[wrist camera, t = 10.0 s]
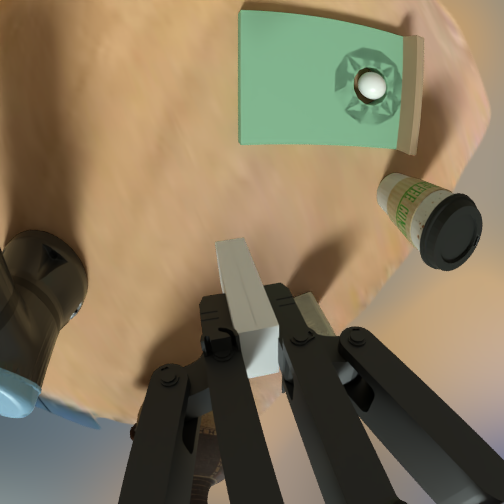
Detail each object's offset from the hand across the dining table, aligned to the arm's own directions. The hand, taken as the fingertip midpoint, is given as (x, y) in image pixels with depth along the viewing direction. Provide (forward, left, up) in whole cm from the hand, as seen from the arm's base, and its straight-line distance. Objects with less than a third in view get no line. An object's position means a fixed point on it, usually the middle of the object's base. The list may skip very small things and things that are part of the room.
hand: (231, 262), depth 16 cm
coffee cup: (+26, -5, -23) cm, 35 cm away
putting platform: (+14, +10, -23) cm, 29 cm away
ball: (+20, +10, -21) cm, 30 cm away
